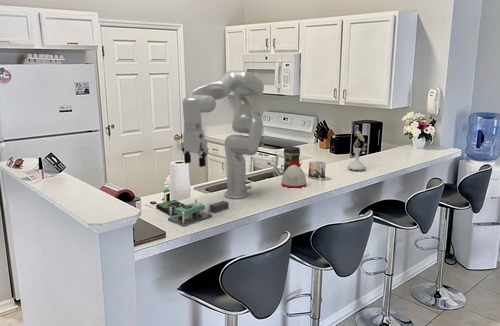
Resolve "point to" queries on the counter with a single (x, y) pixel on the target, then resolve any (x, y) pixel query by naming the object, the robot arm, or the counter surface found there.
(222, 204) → the block
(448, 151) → the counter surface
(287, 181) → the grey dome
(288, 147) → the coffee jar
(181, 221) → the chassis
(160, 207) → the disk drive
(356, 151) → the flower in vase
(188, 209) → the board
